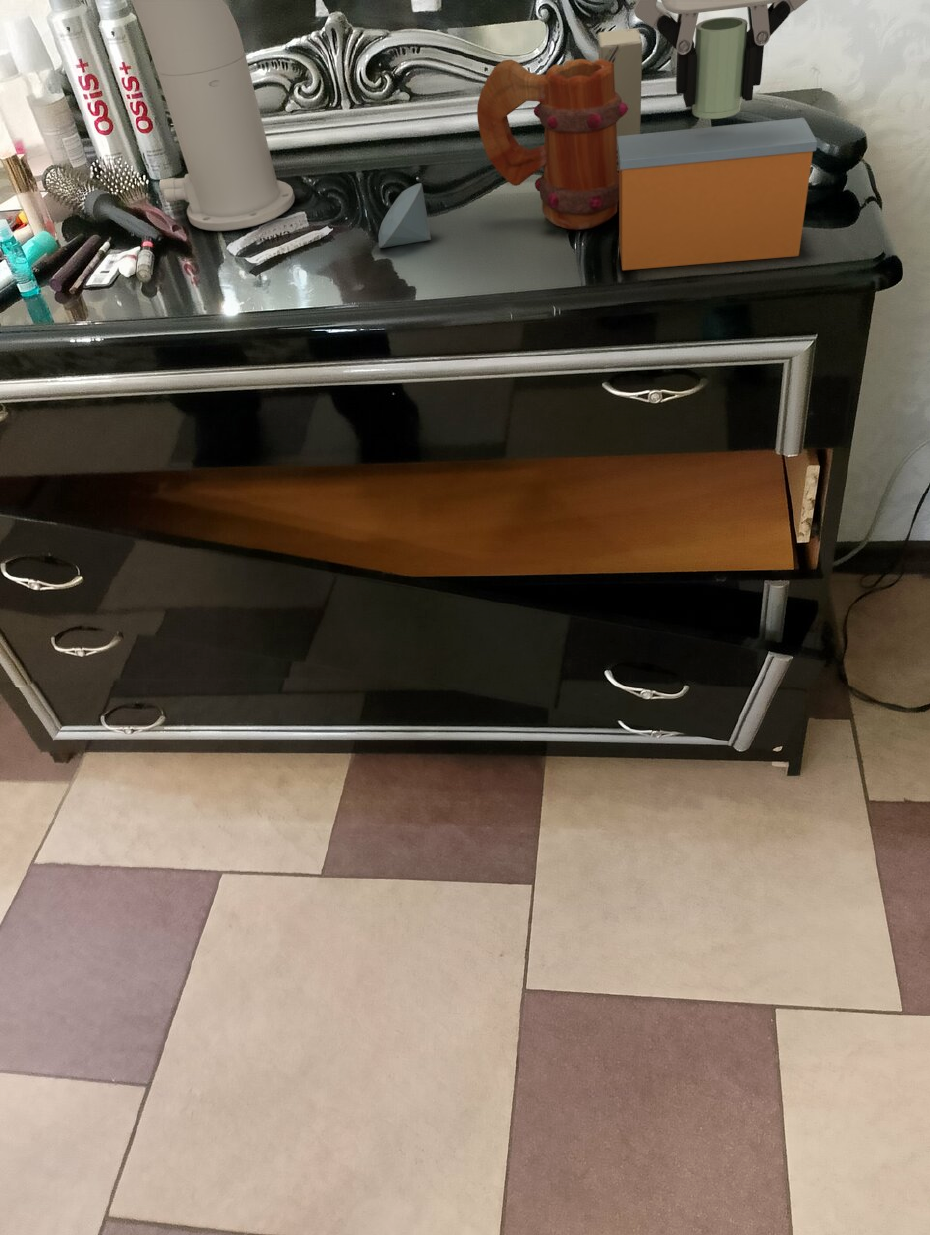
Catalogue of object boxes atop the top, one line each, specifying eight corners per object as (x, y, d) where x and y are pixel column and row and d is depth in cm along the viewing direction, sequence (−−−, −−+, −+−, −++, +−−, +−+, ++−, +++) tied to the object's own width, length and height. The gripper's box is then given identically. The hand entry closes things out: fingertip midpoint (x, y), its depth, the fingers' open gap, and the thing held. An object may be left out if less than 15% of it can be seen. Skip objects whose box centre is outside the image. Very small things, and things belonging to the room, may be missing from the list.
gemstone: (459, 194, 97) (420, 162, 95) (442, 235, 93) (401, 202, 91) (420, 243, 103) (382, 214, 101) (402, 284, 98) (363, 255, 97)
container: (620, 271, 88) (619, 160, 81) (617, 244, 92) (616, 136, 85) (801, 257, 86) (817, 141, 79) (790, 229, 90) (804, 117, 83)
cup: (694, 121, 79) (698, 33, 74) (689, 105, 82) (693, 20, 77) (743, 116, 78) (750, 27, 74) (736, 100, 81) (743, 14, 77)
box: (598, 157, 109) (596, 31, 100) (637, 153, 108) (638, 25, 99) (601, 174, 105) (599, 44, 96) (641, 170, 104) (643, 39, 95)
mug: (634, 203, 98) (635, 41, 88) (622, 237, 93) (621, 68, 82) (499, 205, 102) (485, 50, 92) (480, 237, 97) (463, 76, 86)
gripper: (617, -158, 65) (619, 124, 78) (869, -195, 63) (828, 102, 76) (613, -171, 70) (615, 95, 83) (845, -205, 68) (811, 74, 81)
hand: (717, 96), depth 79 cm, fingers closed on cup, 4 cm apart
